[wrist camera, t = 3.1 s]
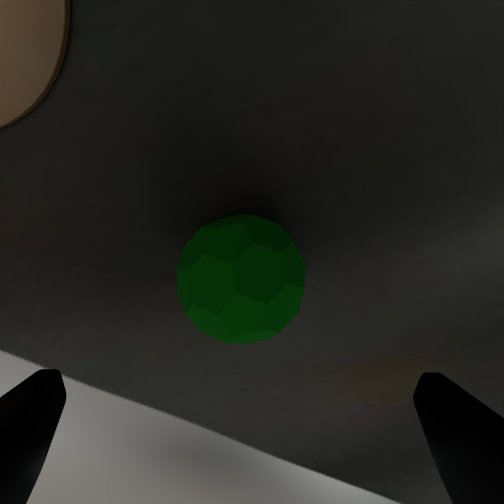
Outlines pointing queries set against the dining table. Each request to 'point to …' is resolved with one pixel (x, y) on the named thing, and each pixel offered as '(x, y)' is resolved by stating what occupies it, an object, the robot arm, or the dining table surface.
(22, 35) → the coaster
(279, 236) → the polyhedron
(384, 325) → the dining table surface
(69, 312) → the dining table surface
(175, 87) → the dining table surface
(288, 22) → the dining table surface
